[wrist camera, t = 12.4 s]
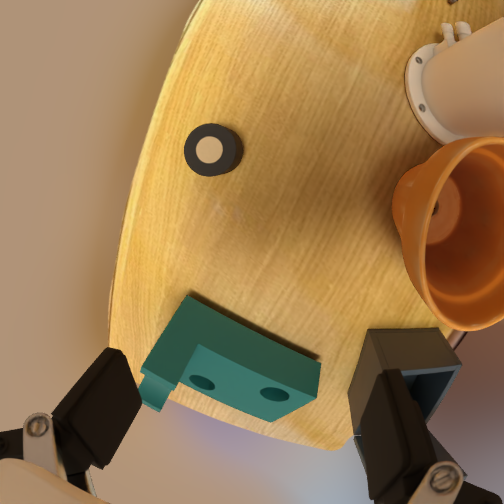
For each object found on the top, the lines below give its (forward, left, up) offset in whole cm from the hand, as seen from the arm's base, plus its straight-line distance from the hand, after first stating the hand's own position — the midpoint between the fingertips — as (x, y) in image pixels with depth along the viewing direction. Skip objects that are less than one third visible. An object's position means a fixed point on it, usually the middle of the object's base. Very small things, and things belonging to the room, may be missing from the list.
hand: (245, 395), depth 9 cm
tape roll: (-9, -6, -21) cm, 23 cm away
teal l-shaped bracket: (+17, -4, -21) cm, 27 cm away
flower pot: (-4, +16, -21) cm, 27 cm away
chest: (+17, +17, -21) cm, 32 cm away
